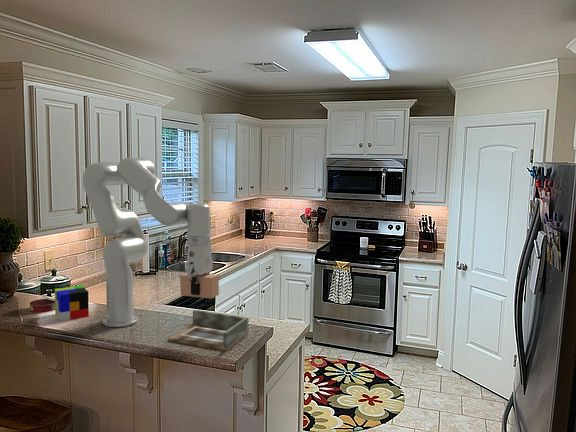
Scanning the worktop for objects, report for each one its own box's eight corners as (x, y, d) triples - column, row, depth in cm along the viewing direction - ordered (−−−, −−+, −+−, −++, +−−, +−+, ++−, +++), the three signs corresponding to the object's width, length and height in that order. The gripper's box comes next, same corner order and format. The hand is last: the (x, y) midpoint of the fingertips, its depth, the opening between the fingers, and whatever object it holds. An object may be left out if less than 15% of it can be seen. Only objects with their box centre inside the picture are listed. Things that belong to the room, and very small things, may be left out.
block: (218, 294, 163) (218, 274, 163) (211, 298, 159) (211, 278, 158) (188, 291, 167) (188, 272, 167) (180, 295, 163) (180, 275, 162)
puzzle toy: (60, 321, 177) (59, 295, 176) (55, 313, 185) (54, 289, 184) (88, 316, 183) (88, 291, 182) (82, 309, 191) (82, 285, 190)
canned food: (35, 318, 194) (37, 294, 197) (61, 315, 195) (62, 291, 198) (22, 313, 183) (24, 288, 187) (49, 310, 184) (51, 285, 188)
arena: (168, 340, 161) (168, 323, 160) (194, 325, 177) (194, 309, 176) (226, 351, 154) (226, 333, 153) (248, 333, 170) (248, 317, 169)
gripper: (195, 244, 152) (196, 300, 154) (220, 237, 168) (221, 287, 170) (175, 243, 154) (176, 298, 156) (201, 236, 170) (202, 285, 172)
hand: (199, 292), depth 163 cm, fingers closed on block, 5 cm apart
